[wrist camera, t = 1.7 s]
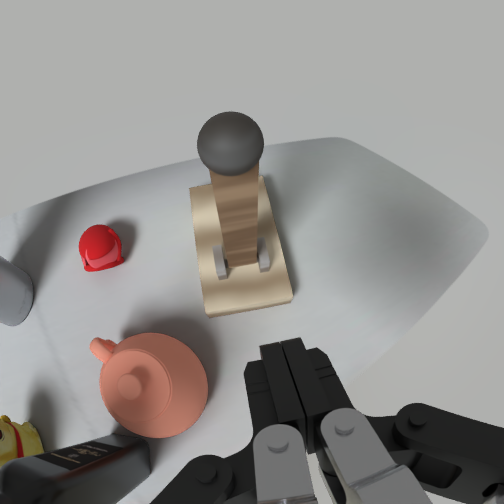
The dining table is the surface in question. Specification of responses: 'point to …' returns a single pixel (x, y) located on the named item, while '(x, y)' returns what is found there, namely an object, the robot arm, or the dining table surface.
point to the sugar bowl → (151, 383)
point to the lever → (234, 180)
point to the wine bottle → (77, 473)
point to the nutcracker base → (243, 277)
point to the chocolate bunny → (18, 440)
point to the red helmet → (100, 248)
